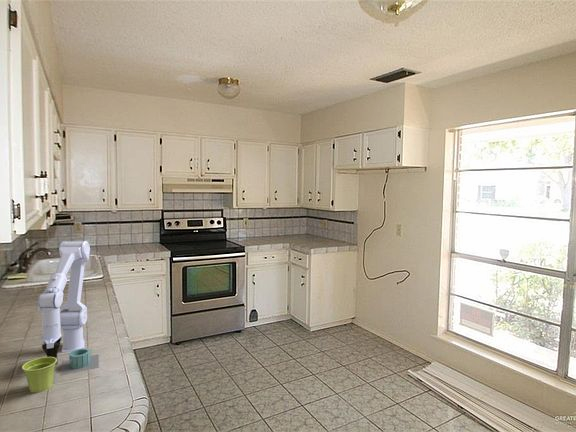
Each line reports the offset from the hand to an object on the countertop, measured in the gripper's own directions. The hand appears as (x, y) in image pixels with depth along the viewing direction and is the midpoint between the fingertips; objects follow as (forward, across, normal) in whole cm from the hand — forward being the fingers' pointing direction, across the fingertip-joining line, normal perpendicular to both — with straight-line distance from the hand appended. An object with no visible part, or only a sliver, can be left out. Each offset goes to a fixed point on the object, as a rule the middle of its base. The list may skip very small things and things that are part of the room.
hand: (52, 359), depth 135 cm
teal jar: (+2, +5, +9) cm, 10 cm away
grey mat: (+2, +5, +9) cm, 10 cm away
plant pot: (+2, +17, -2) cm, 17 cm away
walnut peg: (+2, 0, 0) cm, 2 cm away
